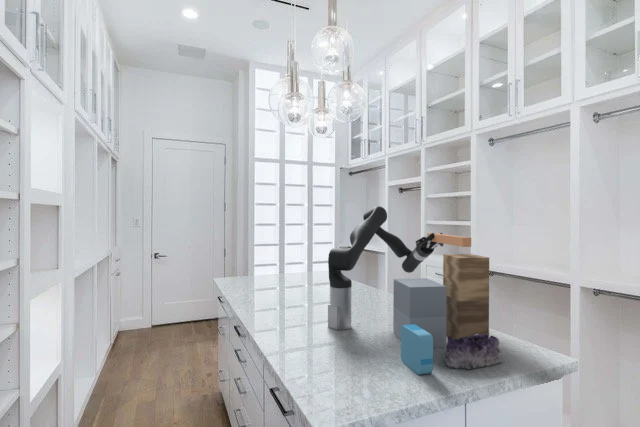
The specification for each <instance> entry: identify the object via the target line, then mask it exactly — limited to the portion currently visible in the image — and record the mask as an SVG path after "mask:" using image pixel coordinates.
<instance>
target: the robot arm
mask: <svg viewBox="0 0 640 427" xmlns="http://www.w3.org/2000/svg"><path fill="white" fill-rule="evenodd" d="M362 218H363V221H362V222H360V223H359V224H358V225H357V226H355V228H354V229H353V230H352V232H351V233H350V235H349V242H350V245H351V246H350V247H349V248H341V247H340V248H338V247H335V248H332V249H331V250H329V253H328V259H327V262H328V263H327V264H328V265H327V266H328V281H329V304H327V328H330V329H333V330H336V331H343V330H344V331H346V330H349V329H351V328H352V298H353V297H352V292H353V291H352V288H353V287H352V286H353V285H352V284H353V283H352V280H351V278H349V277H347V276H345V275H344V274H343V273H342V271H344V272H345V271H346V272H349V271H352V270H353V269H355V268H354V267H355V266H356V264H357V263H358V260H359V259H360V257H361V254H362V253H363V252H364V250H365V248H366V247H367V246H368V245H369V243H370V242H371V240H372V239H373V237H374V236H375V235H377V237H379V238H380V239H381V240H382V241H383V242H385V244H386V245H387V246H388V247H389V249H390V250H391V251H392V252H393V254H394V255H395V256H396V257H397V258H399V259H400V258H403V257H406V258H405V259H404V260H403V261H402V263H401V268H402V270H403V271H404V272H405V273H407V274H409V273H413V272H415V270H416V269H417V268H418V266H419V265H420V264H421V263H422V262H424V261H425V260H426V259H428V258H429V256H430V255H432V253H433V252H434V250H435V248H437V247H438V246H439V247H442V248H443V246H444V244H443V243H438V242H432V239H433V238H434V237H435V236H434V233H435V232H431V233H432V234H430V235H429V236H427V235H426V236H422V237H421V238H419V239H417V240H415V245H416V246H415V247H414V249H413V250H411V249H409V248H408V247H407V245H405V243H404V242H403V241H402V239H401V238H400V237H398V236H397V235H395V234H393V233H391V232H388V231H387V230H385V229H384V228H382V227H381V226H383V224H384V223H386V221H387V219H388V212H387V210H386V209H385V207H383V206H381V205H380V206H374V207H373V208H371V209H369V210H367V211H365V213H364V214H363V217H362ZM439 234H444V233H443V232H439Z"/></svg>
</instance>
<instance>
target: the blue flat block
mask: <svg viewBox="0 0 640 427" xmlns="http://www.w3.org/2000/svg"><path fill="white" fill-rule="evenodd" d="M400 359H401V361H402V363H403V364H405V366H407V367H408V368H409V369H410V370H412V371H413V372H414V373H415V374H416V375H419V376H420V375H429V374H432V373H433V372H434V348H433V337H432V335H431V334H430V333H428V332H427V331H425V330H423V329H422V328H420V327H418V326H417V325H415V324H413V325H402V327H401V341H400Z"/></svg>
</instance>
